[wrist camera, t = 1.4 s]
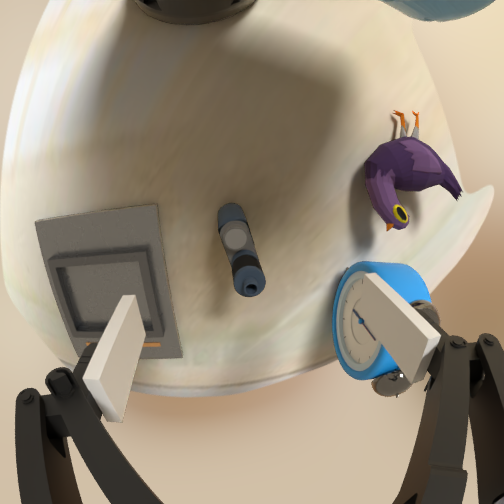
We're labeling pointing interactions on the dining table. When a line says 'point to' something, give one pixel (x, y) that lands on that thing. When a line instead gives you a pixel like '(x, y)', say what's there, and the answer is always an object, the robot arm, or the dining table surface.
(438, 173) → the toy
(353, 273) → the alarm clock
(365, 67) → the dining table surface
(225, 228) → the vaping device
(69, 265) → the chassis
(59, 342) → the dining table surface
